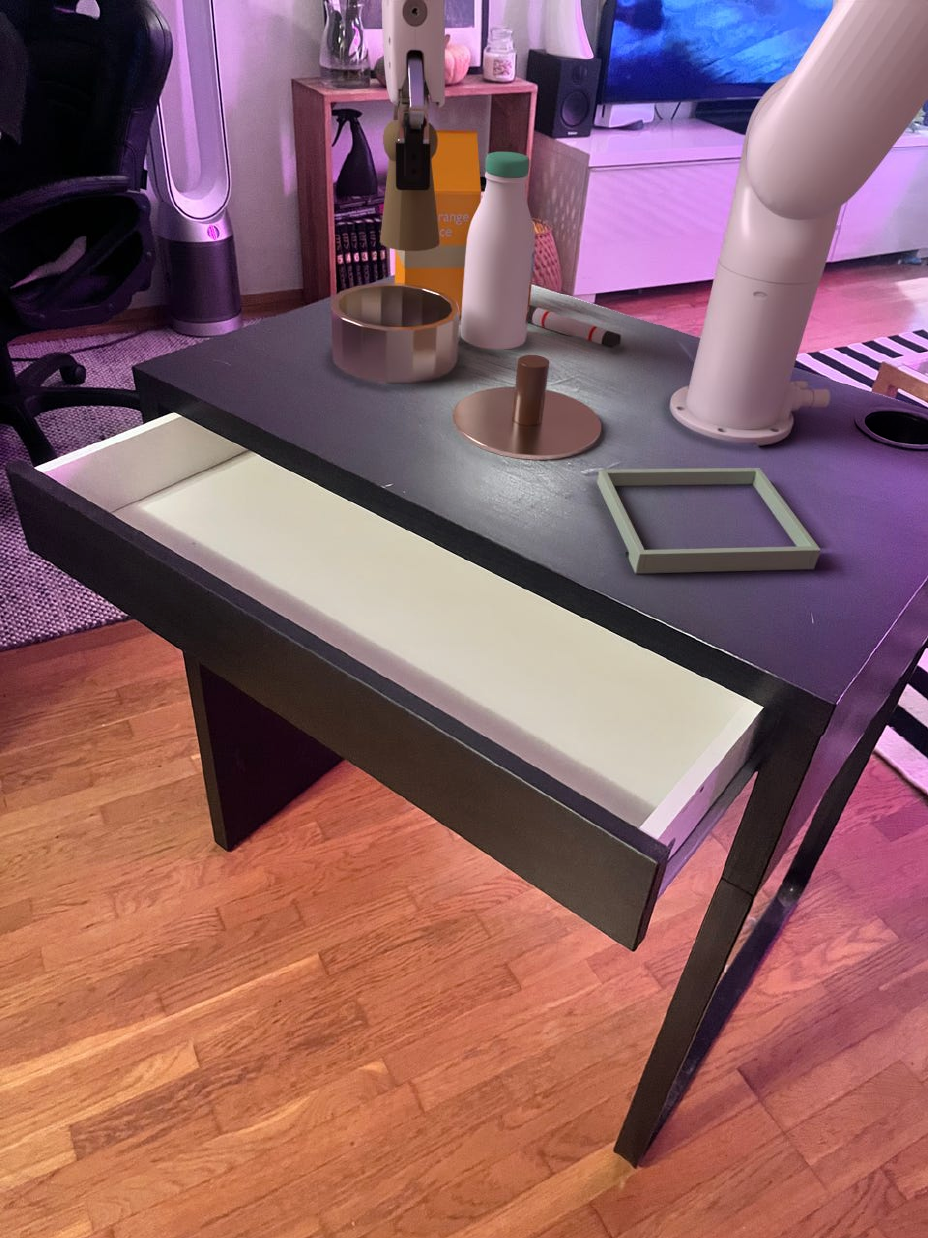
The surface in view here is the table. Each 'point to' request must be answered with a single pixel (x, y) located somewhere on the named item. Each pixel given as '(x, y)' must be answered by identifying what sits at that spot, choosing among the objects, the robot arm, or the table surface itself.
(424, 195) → the brown chess pawn
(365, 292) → the pan
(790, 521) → the grey rectangular frame
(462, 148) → the orange juice
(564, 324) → the marker
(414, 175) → the robot arm
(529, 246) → the milk bottle
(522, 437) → the pan lid
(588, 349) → the table surface
